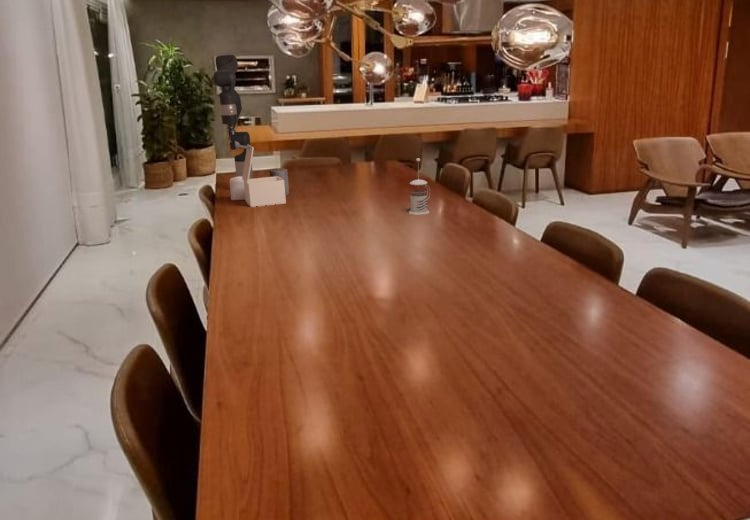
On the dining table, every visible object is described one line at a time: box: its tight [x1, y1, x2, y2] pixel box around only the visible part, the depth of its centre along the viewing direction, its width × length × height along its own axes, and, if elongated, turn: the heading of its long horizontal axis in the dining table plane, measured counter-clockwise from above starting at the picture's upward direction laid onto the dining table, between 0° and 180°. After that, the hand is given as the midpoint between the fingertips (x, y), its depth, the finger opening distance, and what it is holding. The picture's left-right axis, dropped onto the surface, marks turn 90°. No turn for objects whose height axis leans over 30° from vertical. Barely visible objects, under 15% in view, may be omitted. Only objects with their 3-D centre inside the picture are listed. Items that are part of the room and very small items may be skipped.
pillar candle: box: [269, 167, 290, 197], centre depth 347 cm, size 10×10×15 cm
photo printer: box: [229, 176, 246, 201], centre depth 338 cm, size 10×4×12 cm, turn 98°
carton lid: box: [234, 141, 255, 183], centre depth 319 cm, size 14×19×10 cm
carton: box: [244, 176, 287, 208], centre depth 328 cm, size 14×18×12 cm
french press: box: [408, 157, 431, 216], centre depth 292 cm, size 10×12×25 cm
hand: (233, 149), depth 316 cm, fingers closed
